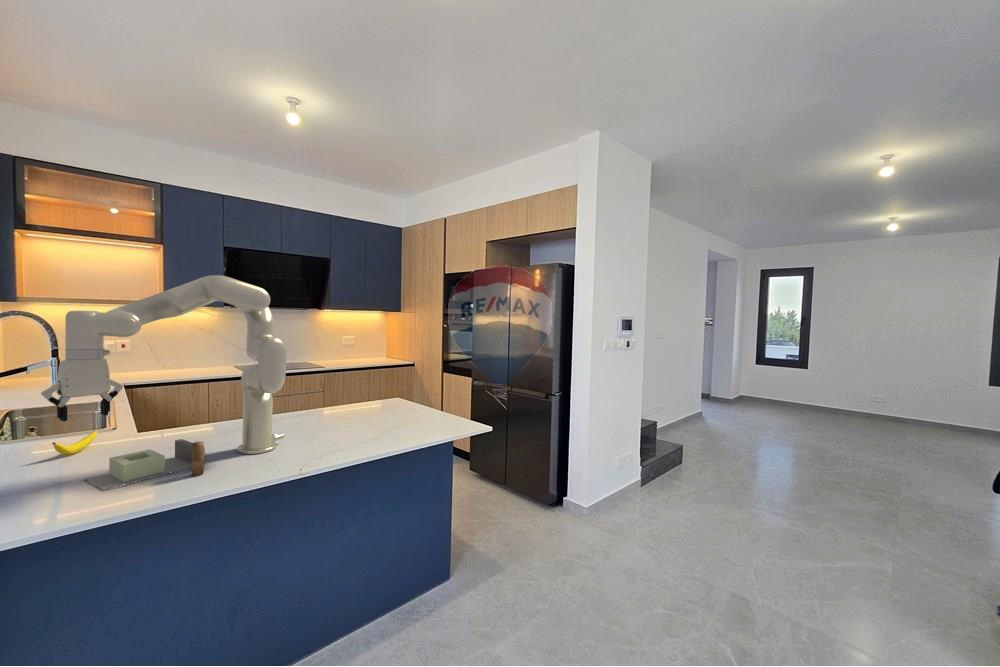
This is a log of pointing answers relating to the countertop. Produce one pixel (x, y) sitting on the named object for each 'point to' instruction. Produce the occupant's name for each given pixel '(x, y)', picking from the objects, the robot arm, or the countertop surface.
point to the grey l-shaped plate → (173, 464)
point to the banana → (75, 445)
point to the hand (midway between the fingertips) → (84, 417)
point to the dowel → (197, 458)
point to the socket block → (136, 465)
